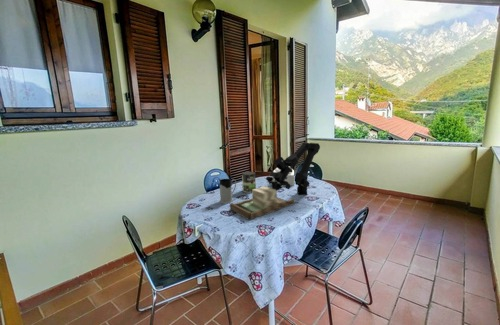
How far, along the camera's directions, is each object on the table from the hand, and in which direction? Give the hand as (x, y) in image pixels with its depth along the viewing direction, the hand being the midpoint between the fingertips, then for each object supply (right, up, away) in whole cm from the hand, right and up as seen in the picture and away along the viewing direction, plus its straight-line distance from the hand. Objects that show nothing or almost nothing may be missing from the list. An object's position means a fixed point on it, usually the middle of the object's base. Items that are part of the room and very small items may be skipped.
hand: (271, 193), depth 161 cm
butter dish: (+15, +3, +49) cm, 51 cm away
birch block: (-4, -6, -2) cm, 8 cm away
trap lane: (-5, -8, -3) cm, 10 cm away
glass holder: (-28, -7, +12) cm, 31 cm away
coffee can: (-14, -2, +31) cm, 34 cm away
